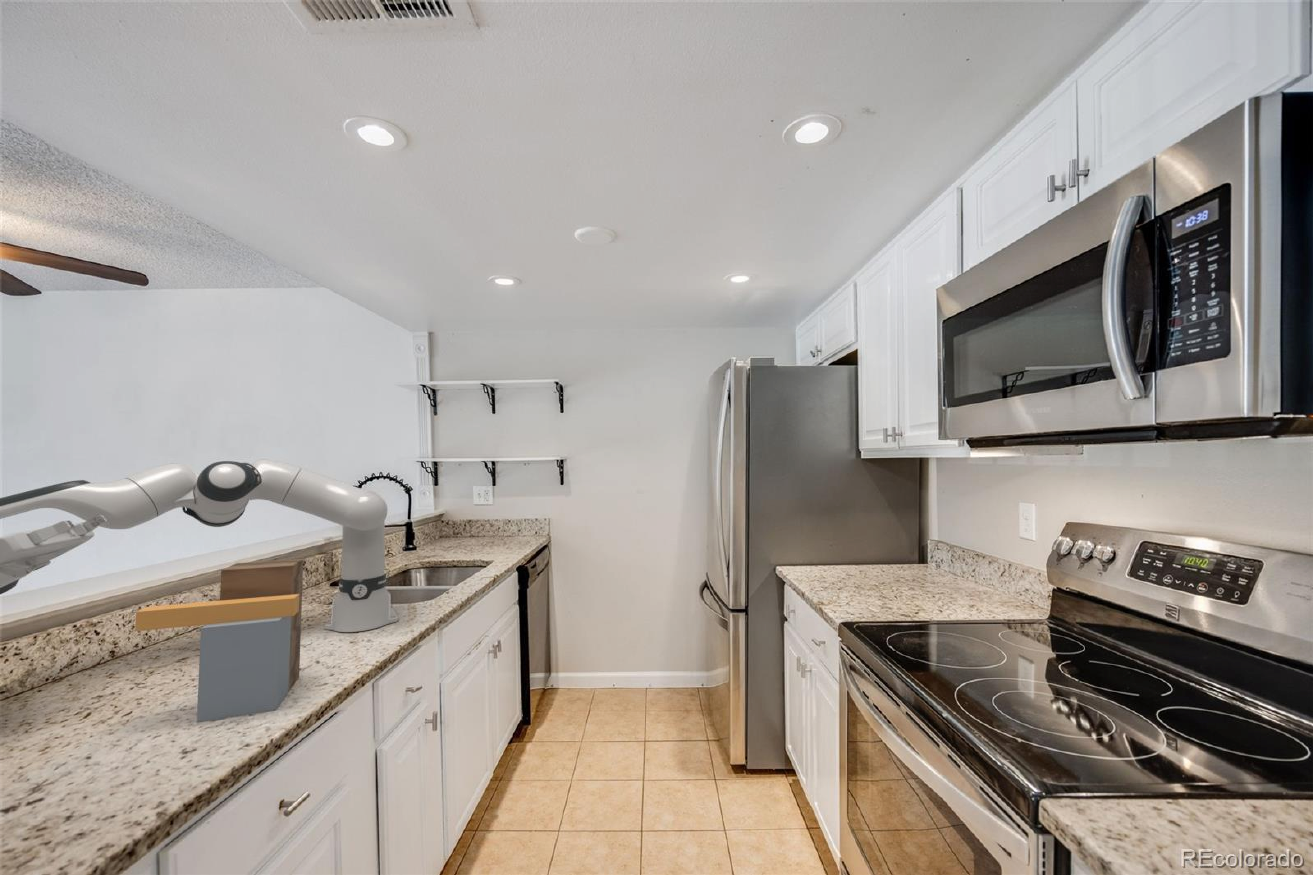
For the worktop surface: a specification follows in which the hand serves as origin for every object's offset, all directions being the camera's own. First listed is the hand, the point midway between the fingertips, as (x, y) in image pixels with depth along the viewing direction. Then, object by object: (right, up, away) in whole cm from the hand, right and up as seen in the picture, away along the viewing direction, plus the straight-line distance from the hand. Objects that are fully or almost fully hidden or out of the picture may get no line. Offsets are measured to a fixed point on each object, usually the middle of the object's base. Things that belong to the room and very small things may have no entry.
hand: (87, 521), depth 96 cm
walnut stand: (+26, -37, +9) cm, 46 cm away
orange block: (+25, -19, +1) cm, 32 cm away
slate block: (+29, -37, +1) cm, 47 cm away
